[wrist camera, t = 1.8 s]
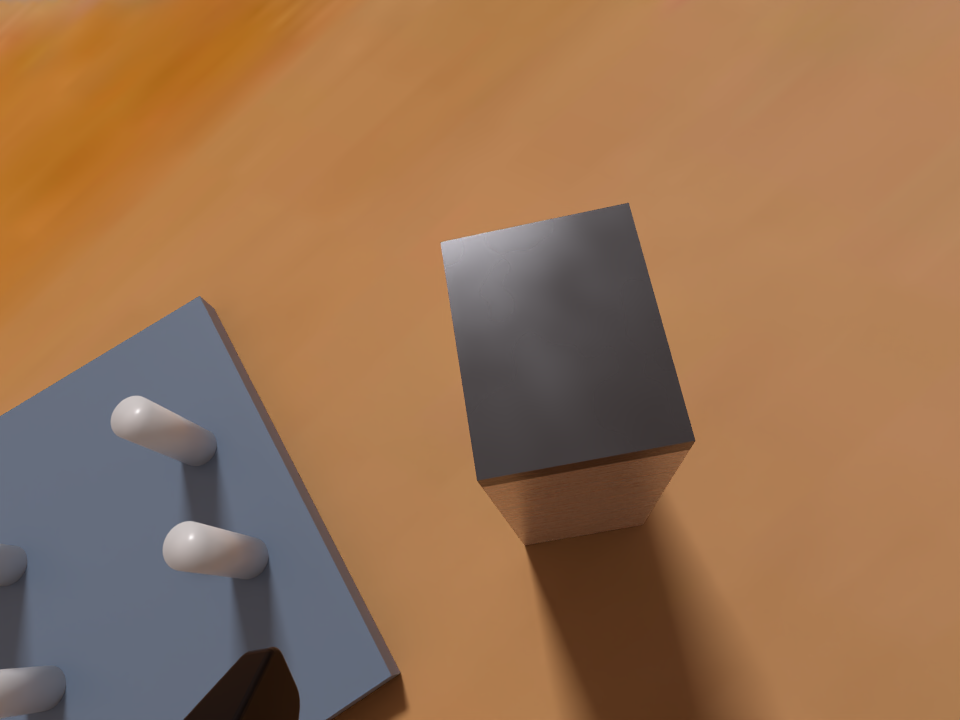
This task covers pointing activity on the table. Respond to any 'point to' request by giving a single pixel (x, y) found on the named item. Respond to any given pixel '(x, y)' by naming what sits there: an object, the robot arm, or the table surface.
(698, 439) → the table surface
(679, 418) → the plate
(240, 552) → the grey pegged base
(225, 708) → the robot arm
